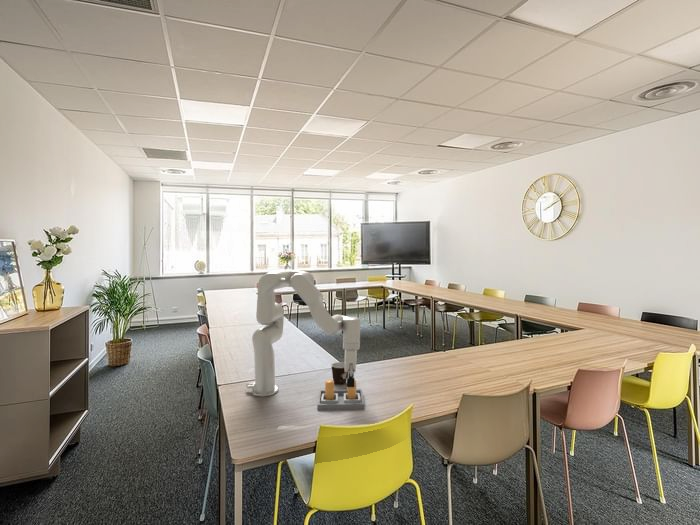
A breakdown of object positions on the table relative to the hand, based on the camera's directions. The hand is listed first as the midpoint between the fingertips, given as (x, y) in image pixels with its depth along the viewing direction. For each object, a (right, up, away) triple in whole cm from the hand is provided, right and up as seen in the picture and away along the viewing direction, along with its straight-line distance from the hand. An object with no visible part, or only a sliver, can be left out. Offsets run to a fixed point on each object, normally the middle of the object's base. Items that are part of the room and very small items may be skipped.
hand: (350, 382), depth 153 cm
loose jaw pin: (+1, -9, 0) cm, 8 cm away
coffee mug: (-4, -9, +22) cm, 24 cm away
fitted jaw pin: (-9, -9, 0) cm, 13 cm away
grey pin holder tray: (-4, -10, 0) cm, 10 cm away
